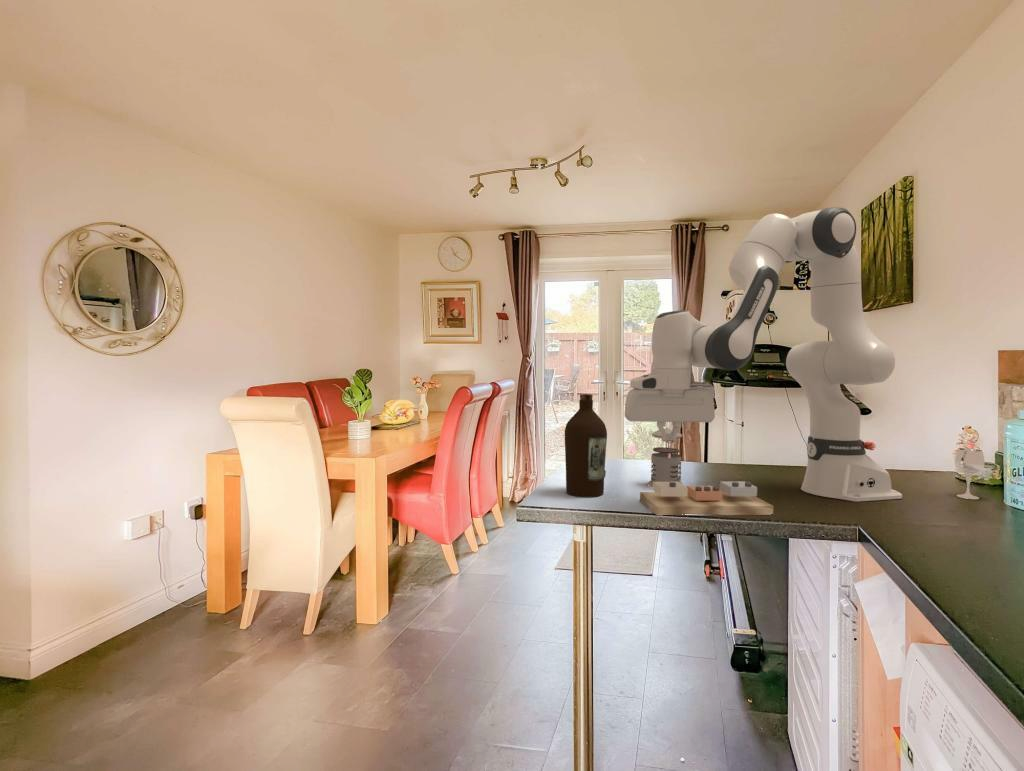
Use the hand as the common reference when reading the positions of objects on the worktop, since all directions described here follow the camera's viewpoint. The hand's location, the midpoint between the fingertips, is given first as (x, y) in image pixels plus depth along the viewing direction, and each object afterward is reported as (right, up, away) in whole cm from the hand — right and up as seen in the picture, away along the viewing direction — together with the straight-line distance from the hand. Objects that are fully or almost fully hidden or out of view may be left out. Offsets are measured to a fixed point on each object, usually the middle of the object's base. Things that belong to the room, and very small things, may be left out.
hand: (668, 441), depth 128 cm
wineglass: (+79, -15, +12) cm, 81 cm away
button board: (+8, -15, 0) cm, 17 cm away
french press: (+6, -14, +23) cm, 28 cm away
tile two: (+16, -12, 0) cm, 20 cm away
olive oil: (-18, -15, +13) cm, 26 cm away
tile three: (+8, -13, 0) cm, 15 cm away
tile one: (0, -12, -1) cm, 12 cm away
